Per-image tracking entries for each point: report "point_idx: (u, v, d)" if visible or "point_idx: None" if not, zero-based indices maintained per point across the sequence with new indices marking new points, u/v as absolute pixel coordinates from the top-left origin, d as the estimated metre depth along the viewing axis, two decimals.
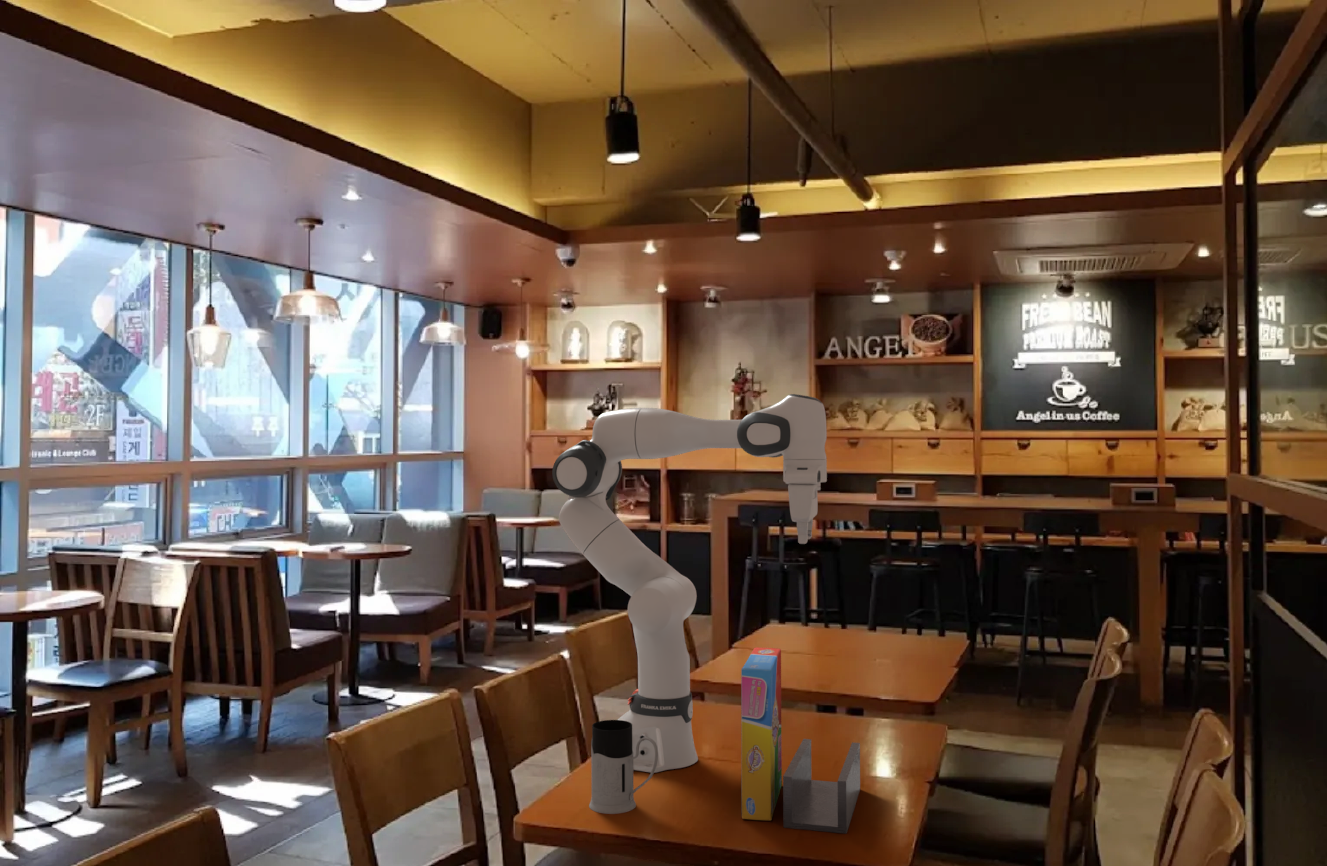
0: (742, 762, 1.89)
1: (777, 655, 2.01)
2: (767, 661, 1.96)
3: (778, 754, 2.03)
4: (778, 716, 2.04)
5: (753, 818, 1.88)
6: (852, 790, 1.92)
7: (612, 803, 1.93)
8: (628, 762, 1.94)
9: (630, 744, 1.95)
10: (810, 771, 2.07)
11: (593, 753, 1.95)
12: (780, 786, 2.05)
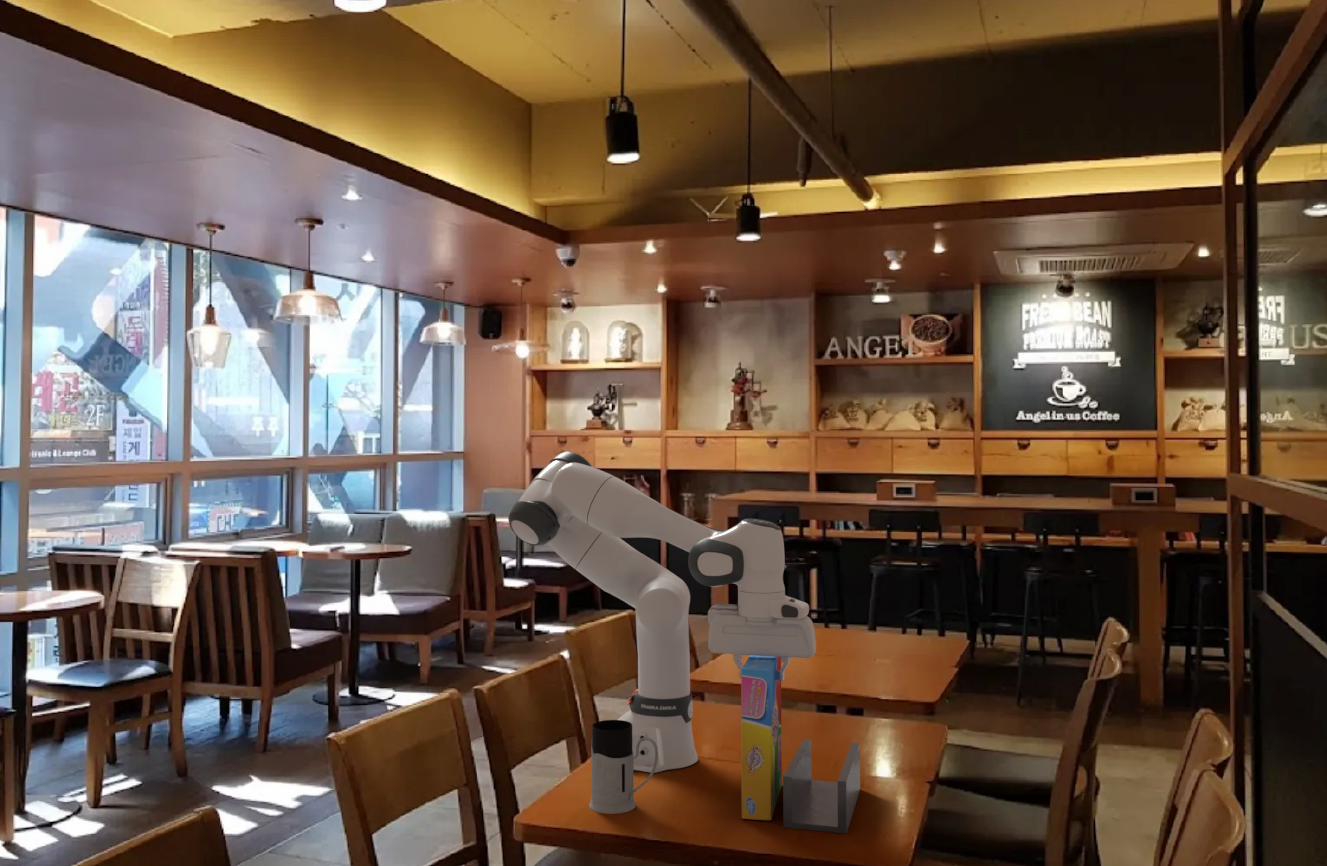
0: (742, 762, 1.89)
1: None
2: (767, 661, 1.96)
3: (778, 754, 2.03)
4: (778, 716, 2.04)
5: (753, 818, 1.88)
6: (852, 790, 1.92)
7: (612, 803, 1.93)
8: (628, 762, 1.94)
9: (630, 744, 1.95)
10: (810, 771, 2.07)
11: (593, 753, 1.95)
12: (780, 786, 2.05)
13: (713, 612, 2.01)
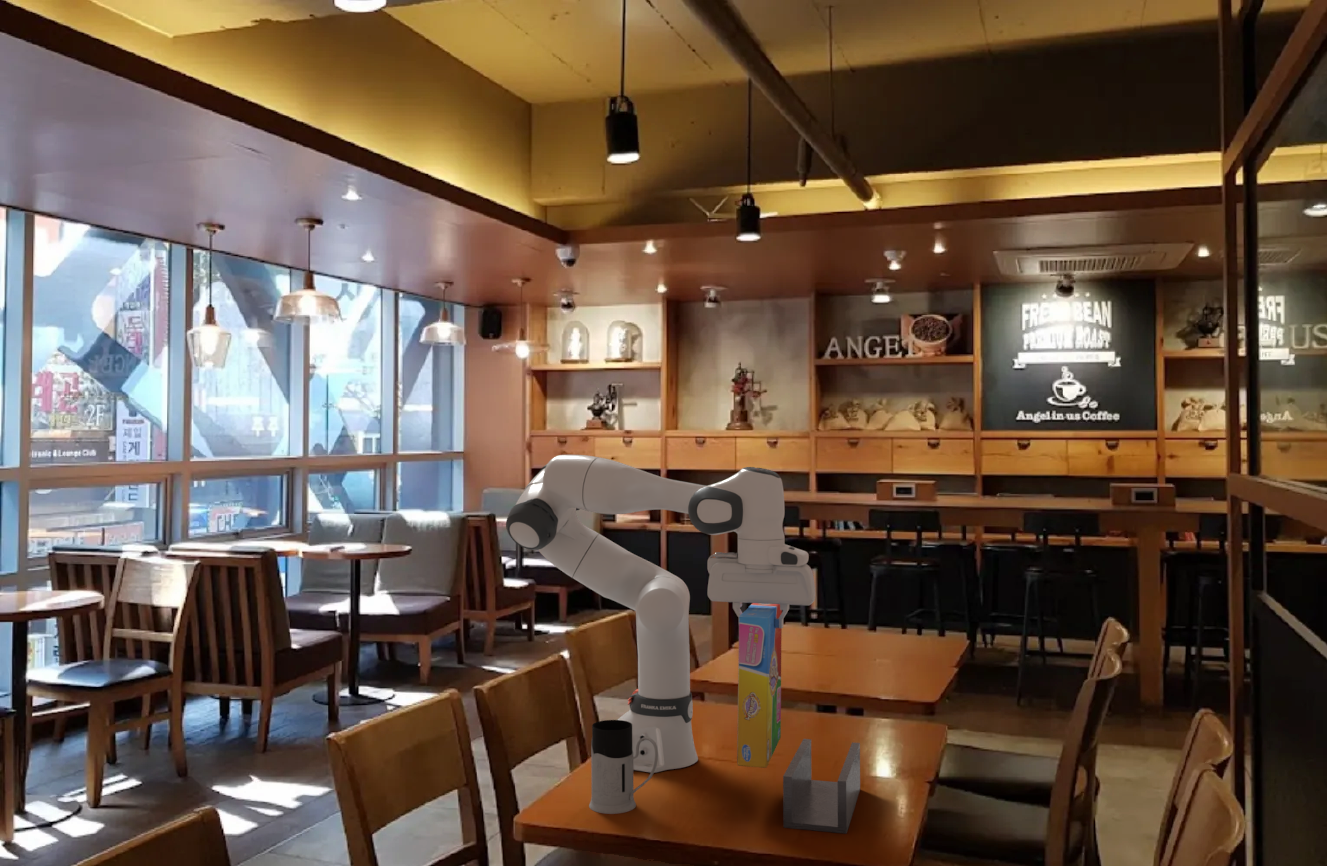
0: (738, 709, 1.89)
1: (777, 606, 2.01)
2: (766, 610, 1.96)
3: (777, 705, 2.03)
4: (777, 667, 2.04)
5: (749, 765, 1.88)
6: (852, 790, 1.92)
7: (612, 803, 1.93)
8: (628, 762, 1.94)
9: (630, 744, 1.95)
10: (810, 771, 2.07)
11: (593, 753, 1.95)
12: (779, 738, 2.05)
13: (712, 560, 2.01)
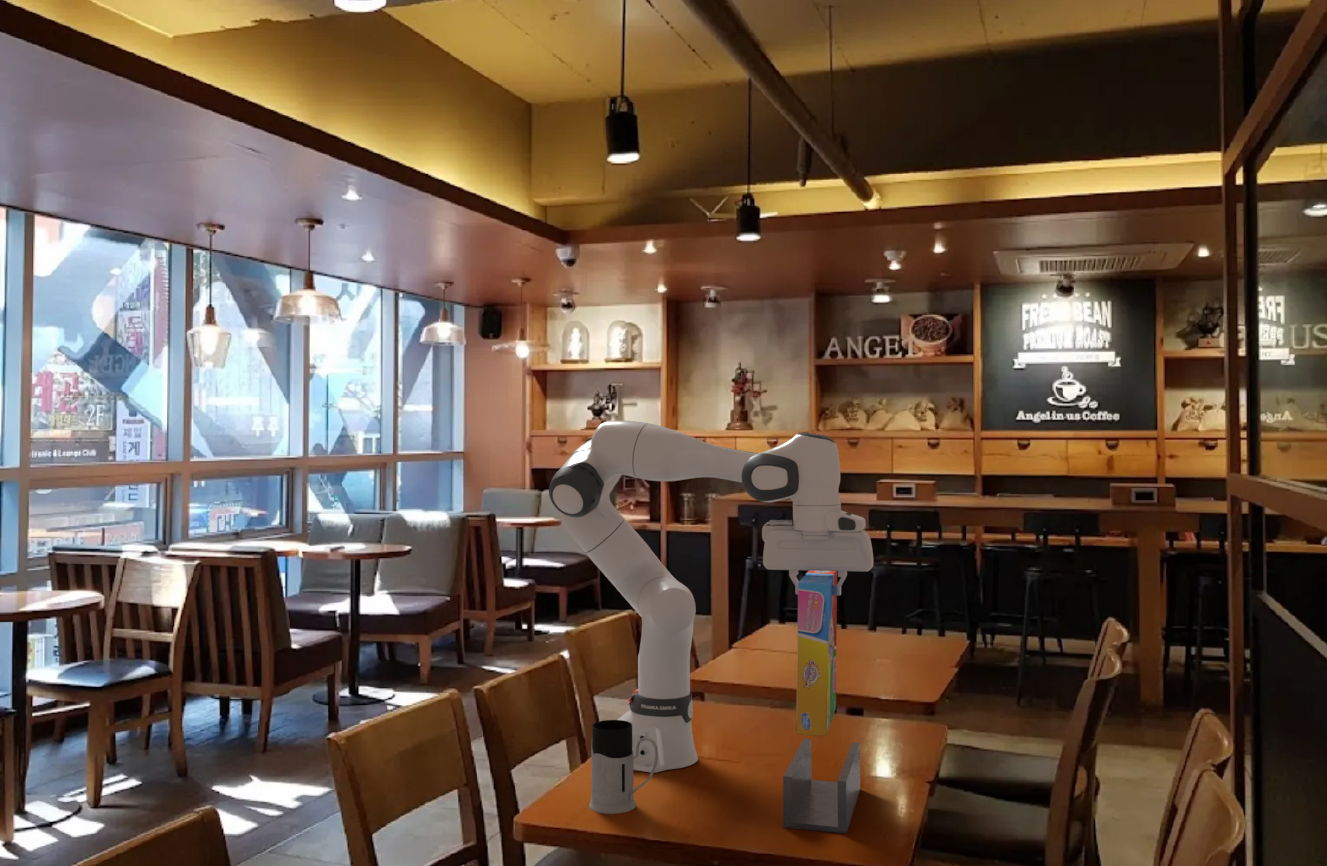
0: (798, 677, 1.86)
1: (834, 574, 1.98)
2: (824, 578, 1.92)
3: (833, 675, 2.00)
4: (833, 637, 2.01)
5: (808, 734, 1.85)
6: (852, 790, 1.92)
7: (612, 803, 1.93)
8: (628, 762, 1.94)
9: (630, 744, 1.95)
10: (810, 771, 2.07)
11: (593, 753, 1.95)
12: (834, 708, 2.02)
13: (767, 528, 1.98)
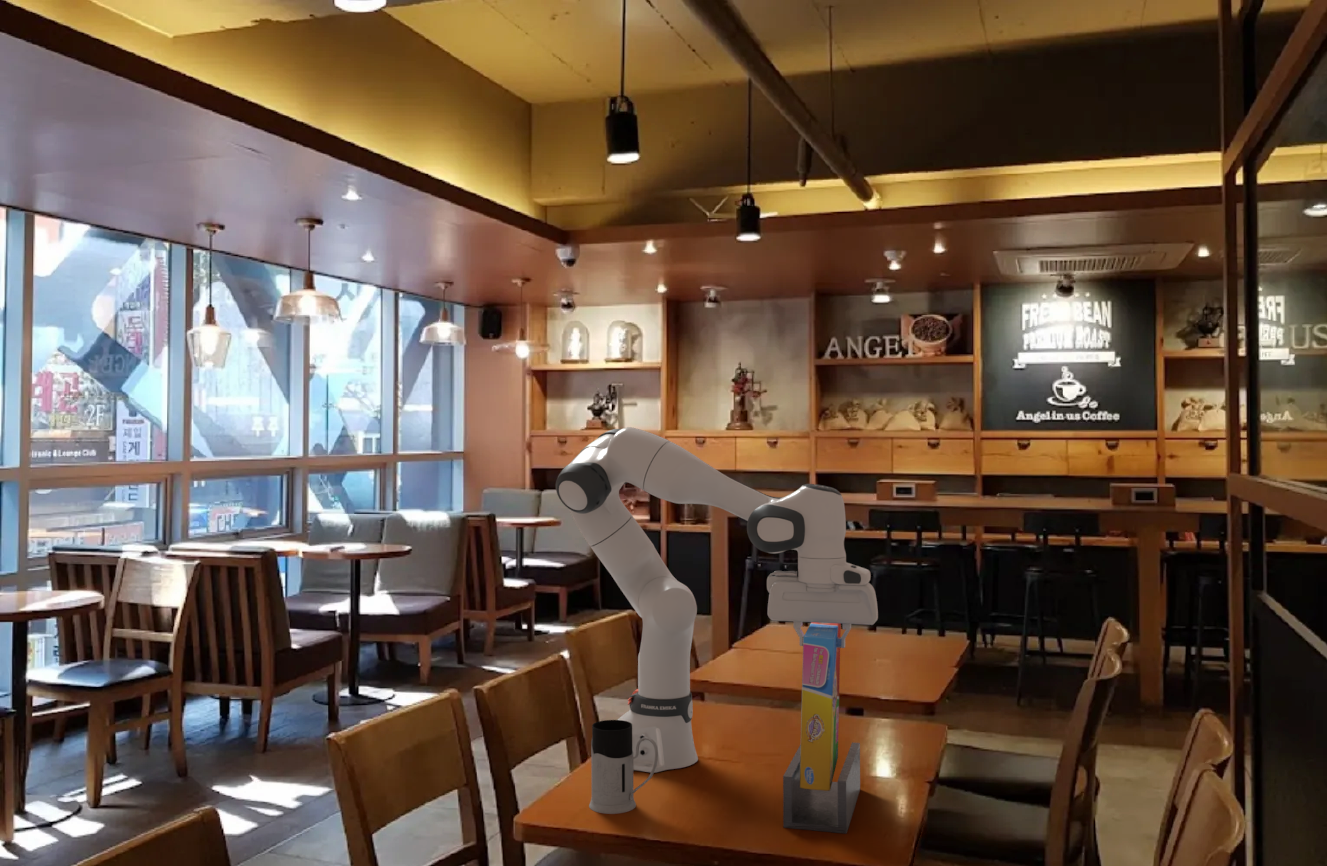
0: (802, 731, 1.86)
1: (838, 625, 1.98)
2: (828, 630, 1.93)
3: None
4: None
5: (811, 788, 1.85)
6: (852, 790, 1.92)
7: (612, 803, 1.93)
8: (628, 762, 1.94)
9: (630, 744, 1.95)
10: None
11: (593, 753, 1.95)
12: None
13: (772, 579, 1.98)
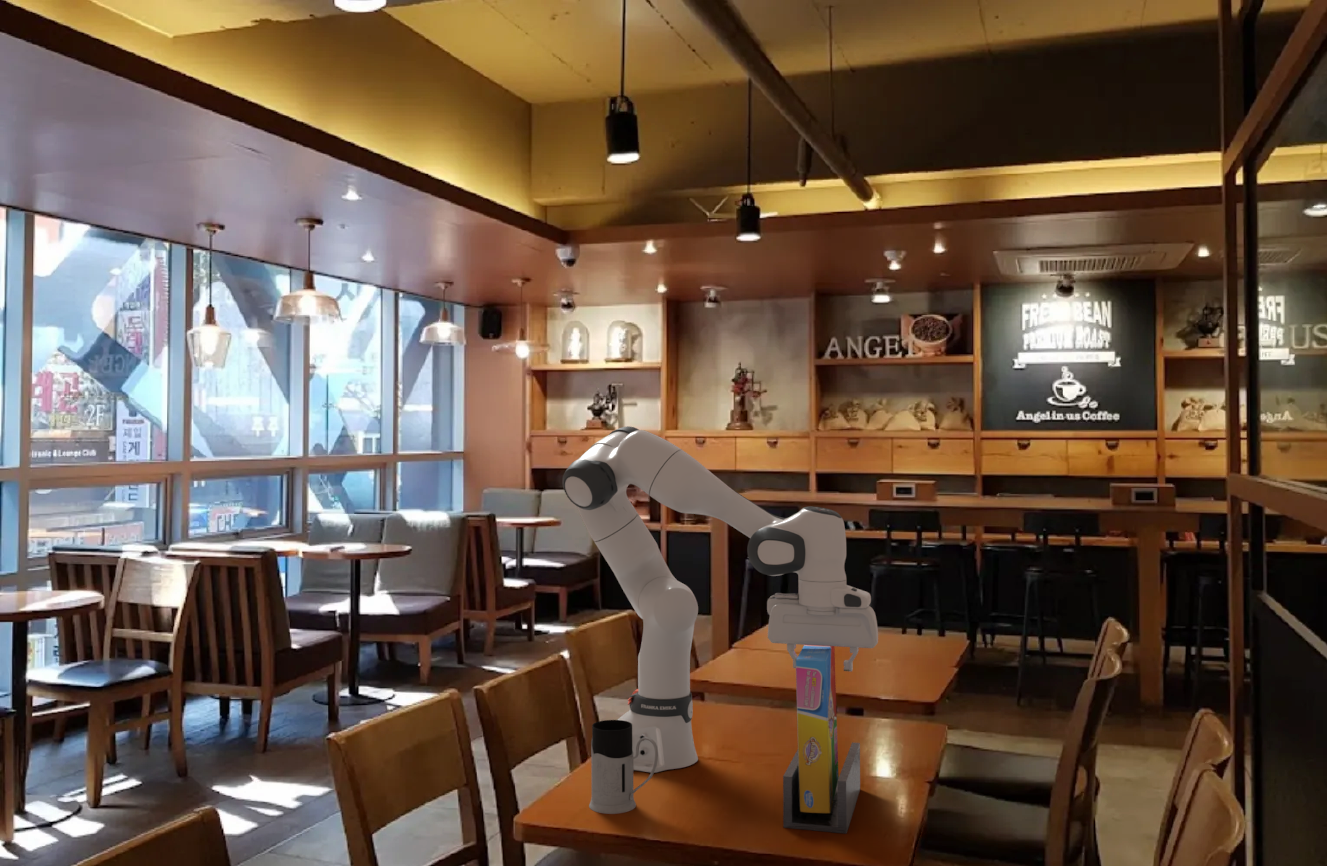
0: (799, 754, 1.86)
1: (831, 646, 1.98)
2: (821, 652, 1.93)
3: (834, 746, 2.00)
4: (833, 708, 2.01)
5: (812, 811, 1.85)
6: (852, 790, 1.92)
7: (612, 803, 1.93)
8: (628, 762, 1.94)
9: (630, 744, 1.95)
10: None
11: (593, 753, 1.95)
12: (837, 779, 2.02)
13: (772, 601, 1.98)
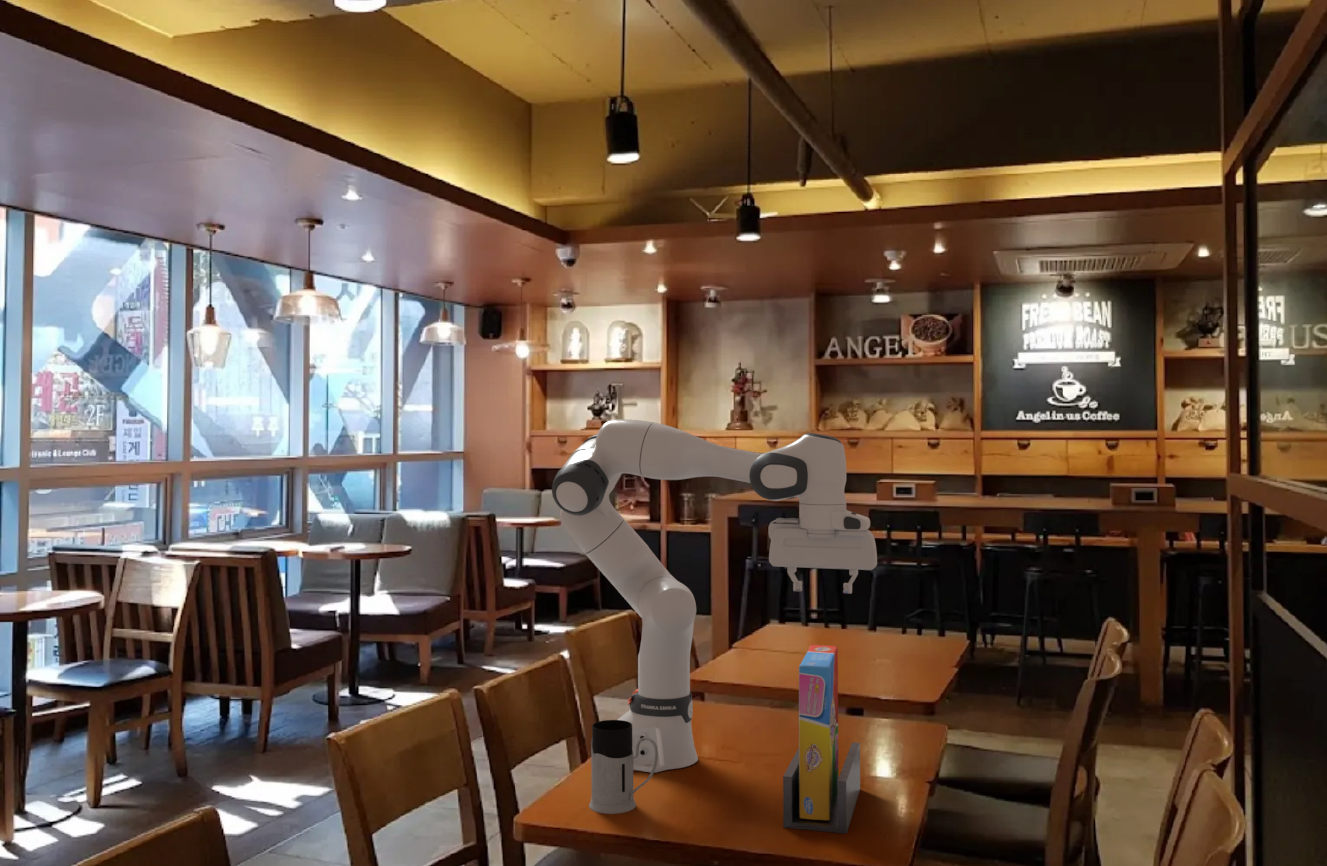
0: (800, 761, 1.86)
1: (834, 653, 1.98)
2: (825, 659, 1.93)
3: (835, 753, 2.00)
4: (835, 715, 2.01)
5: (811, 818, 1.85)
6: (852, 790, 1.92)
7: (612, 803, 1.93)
8: (628, 762, 1.94)
9: (630, 744, 1.95)
10: None
11: (593, 753, 1.95)
12: (837, 786, 2.02)
13: (774, 526, 2.02)
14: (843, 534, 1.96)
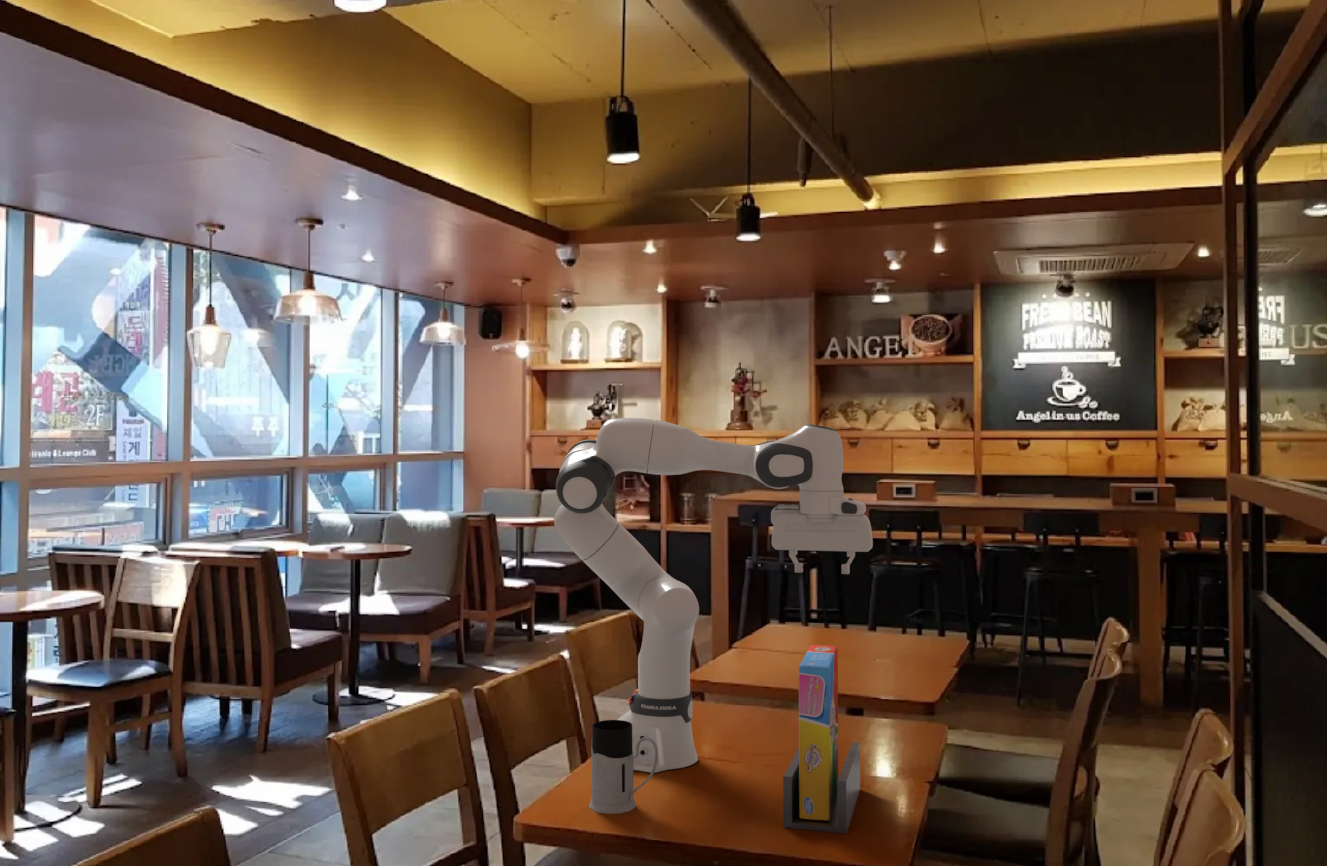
0: (800, 761, 1.86)
1: (834, 653, 1.98)
2: (824, 659, 1.93)
3: (835, 753, 2.00)
4: (835, 715, 2.01)
5: (811, 818, 1.85)
6: (852, 790, 1.92)
7: (612, 803, 1.93)
8: (628, 762, 1.94)
9: (630, 744, 1.95)
10: None
11: (593, 753, 1.95)
12: (837, 786, 2.02)
13: (776, 512, 2.16)
14: (841, 518, 2.10)
